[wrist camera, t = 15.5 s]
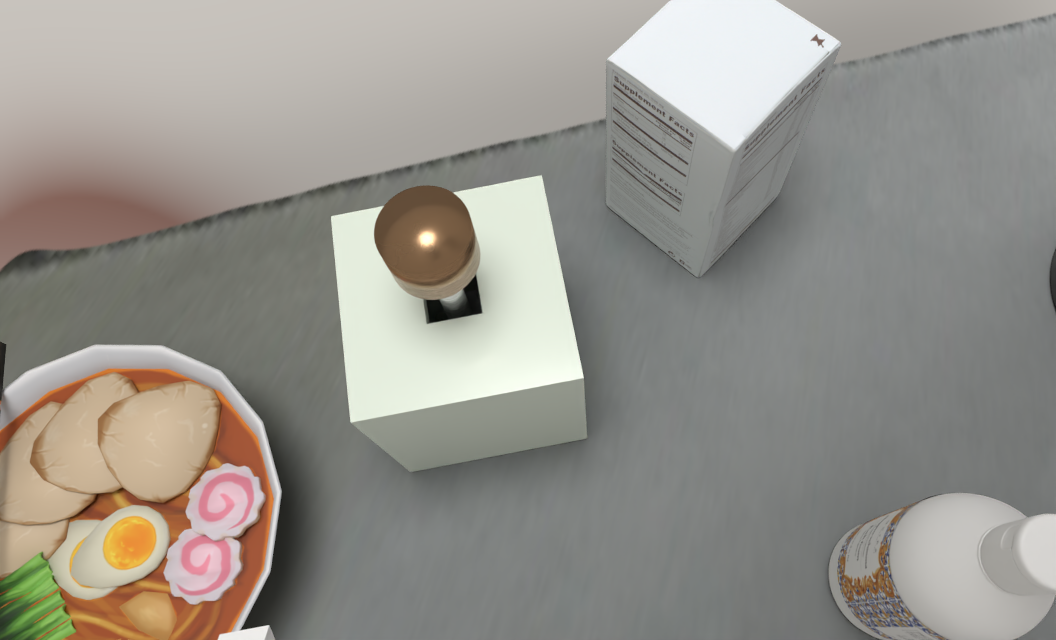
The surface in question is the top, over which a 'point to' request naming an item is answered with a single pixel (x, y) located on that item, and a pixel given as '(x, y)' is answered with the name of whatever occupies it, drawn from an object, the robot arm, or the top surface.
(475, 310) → the plunger
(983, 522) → the bath foam
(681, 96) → the supplement box
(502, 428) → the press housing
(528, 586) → the top surface
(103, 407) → the ramen bowl
